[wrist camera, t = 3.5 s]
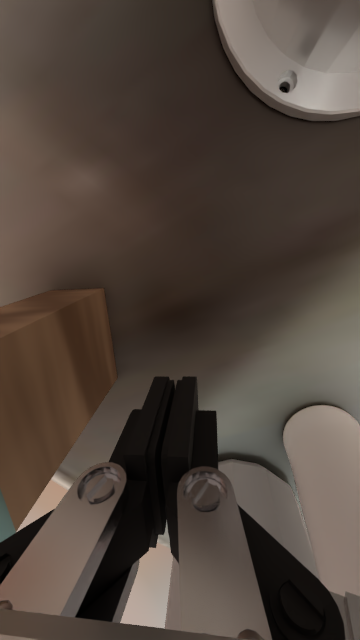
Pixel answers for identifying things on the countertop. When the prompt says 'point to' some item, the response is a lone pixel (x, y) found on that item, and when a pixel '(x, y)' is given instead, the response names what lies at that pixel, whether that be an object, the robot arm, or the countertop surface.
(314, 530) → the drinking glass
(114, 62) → the countertop surface
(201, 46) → the countertop surface
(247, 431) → the countertop surface
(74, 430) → the wooden block
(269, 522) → the jar
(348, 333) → the countertop surface
